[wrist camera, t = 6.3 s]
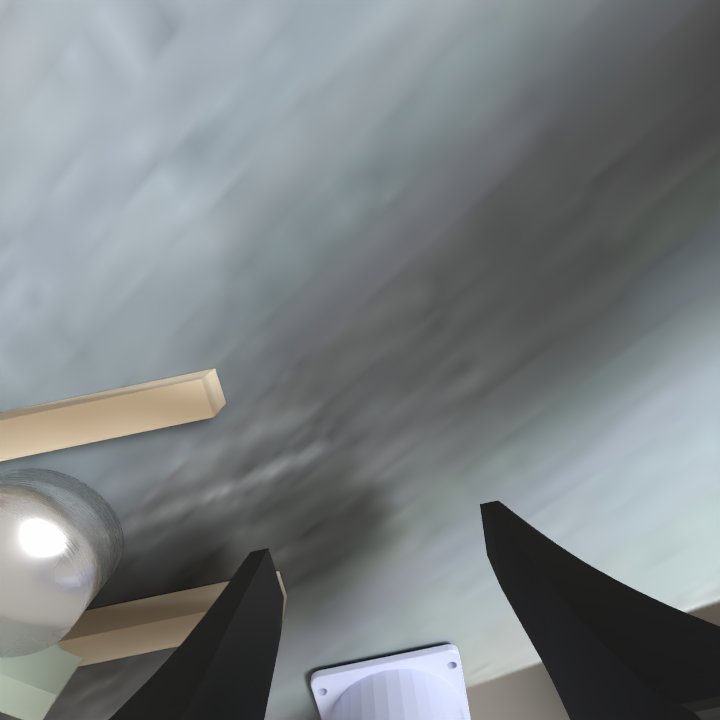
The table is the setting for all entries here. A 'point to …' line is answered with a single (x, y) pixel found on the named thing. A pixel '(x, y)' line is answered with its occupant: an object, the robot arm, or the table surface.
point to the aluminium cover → (50, 556)
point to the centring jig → (125, 620)
